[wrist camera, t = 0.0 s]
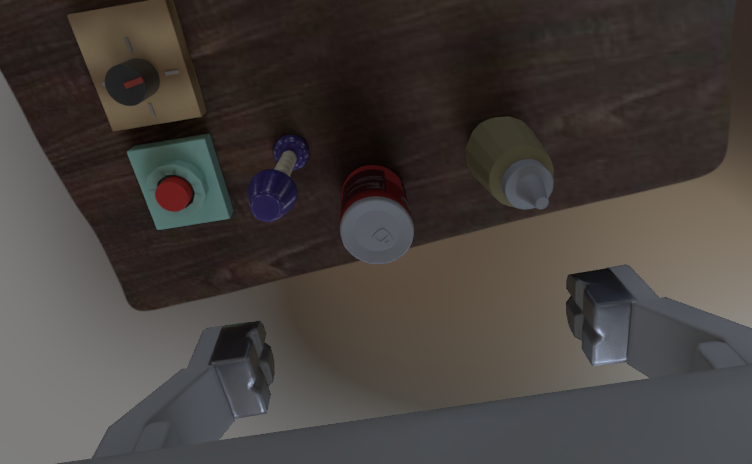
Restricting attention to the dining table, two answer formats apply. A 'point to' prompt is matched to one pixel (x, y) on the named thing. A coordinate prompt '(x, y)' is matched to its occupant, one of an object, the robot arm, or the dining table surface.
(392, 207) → the canned food
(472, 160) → the squeeze bottle
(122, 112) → the dimmer panel
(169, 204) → the power button
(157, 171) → the switch block
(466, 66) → the dining table surface
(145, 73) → the dimmer knob
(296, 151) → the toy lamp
